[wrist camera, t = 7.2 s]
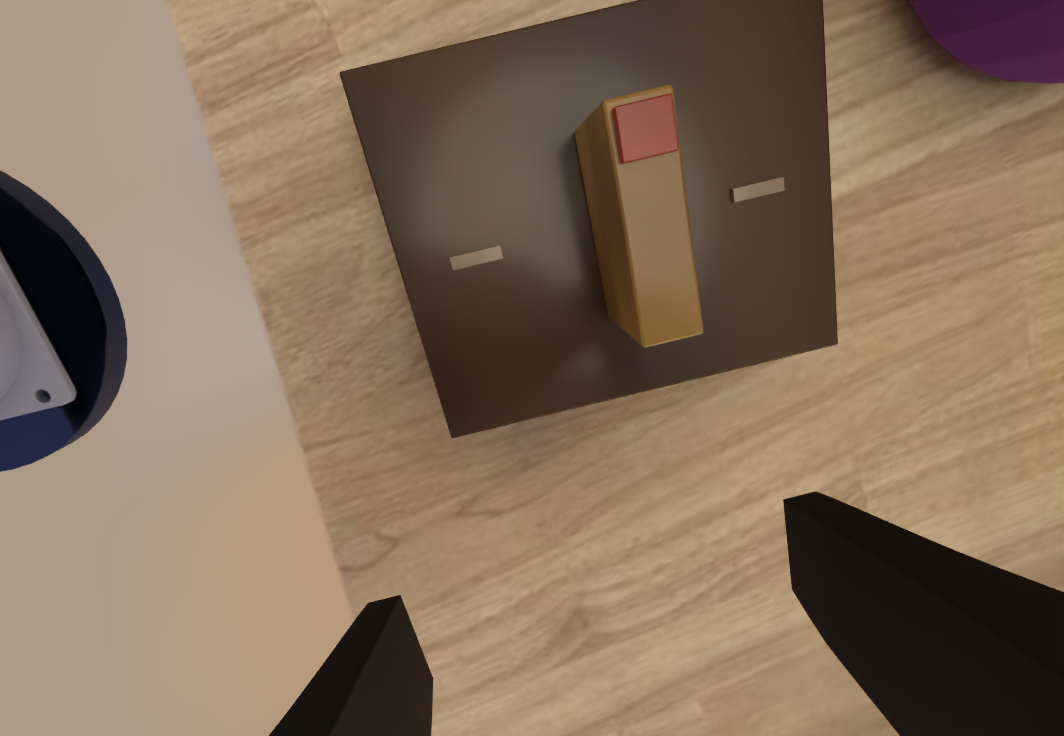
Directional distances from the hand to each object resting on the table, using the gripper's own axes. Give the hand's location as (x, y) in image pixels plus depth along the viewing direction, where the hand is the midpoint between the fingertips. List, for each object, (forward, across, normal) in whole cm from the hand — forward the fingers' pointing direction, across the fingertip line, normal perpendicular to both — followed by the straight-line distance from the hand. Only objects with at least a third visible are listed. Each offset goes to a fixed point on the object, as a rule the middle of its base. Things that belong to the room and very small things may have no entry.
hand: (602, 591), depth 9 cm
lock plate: (+9, -3, -6) cm, 11 cm away
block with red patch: (+6, -3, -6) cm, 9 cm away
